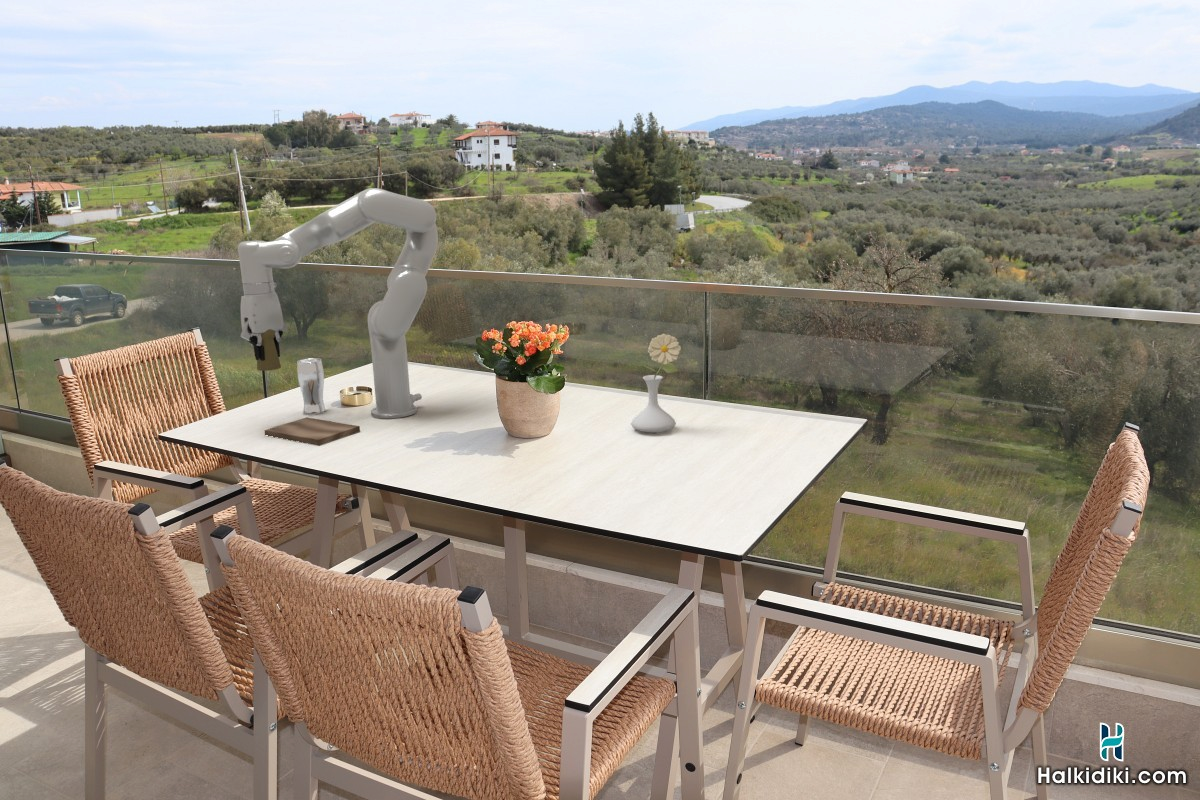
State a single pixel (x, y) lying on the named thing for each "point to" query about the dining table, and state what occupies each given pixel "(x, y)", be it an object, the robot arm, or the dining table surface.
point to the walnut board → (312, 431)
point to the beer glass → (311, 384)
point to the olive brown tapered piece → (269, 352)
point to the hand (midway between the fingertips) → (267, 357)
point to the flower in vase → (653, 415)
